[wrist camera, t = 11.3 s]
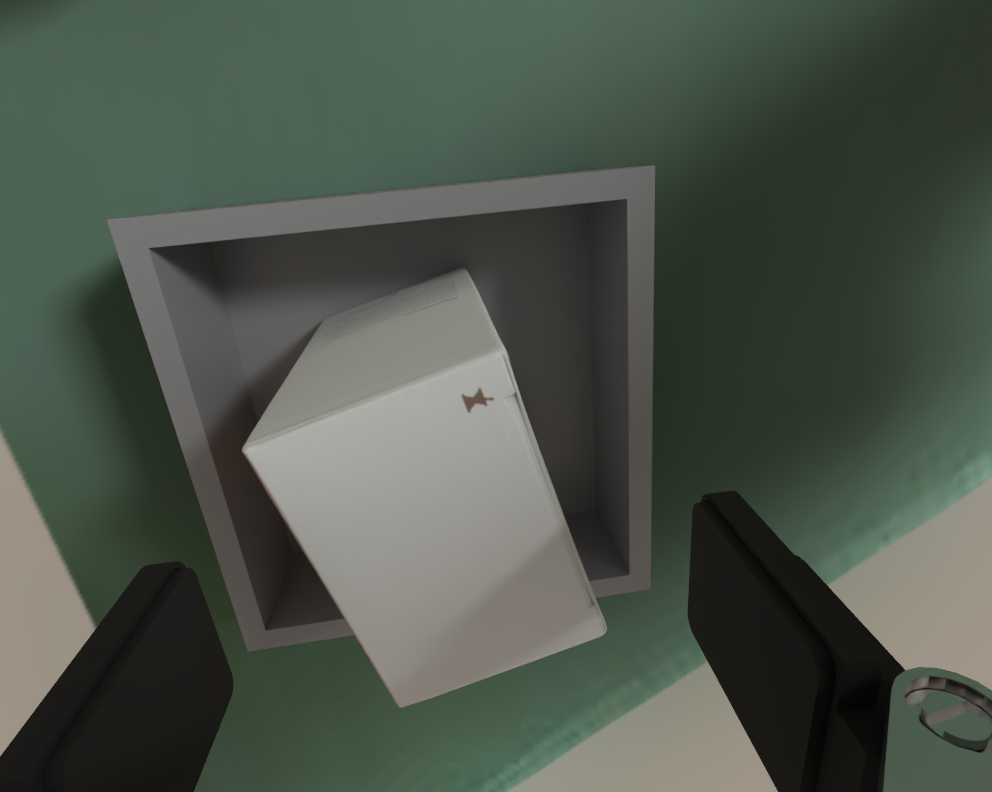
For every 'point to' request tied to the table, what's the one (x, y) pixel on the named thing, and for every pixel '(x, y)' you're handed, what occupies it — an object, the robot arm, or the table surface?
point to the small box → (424, 492)
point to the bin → (377, 273)
